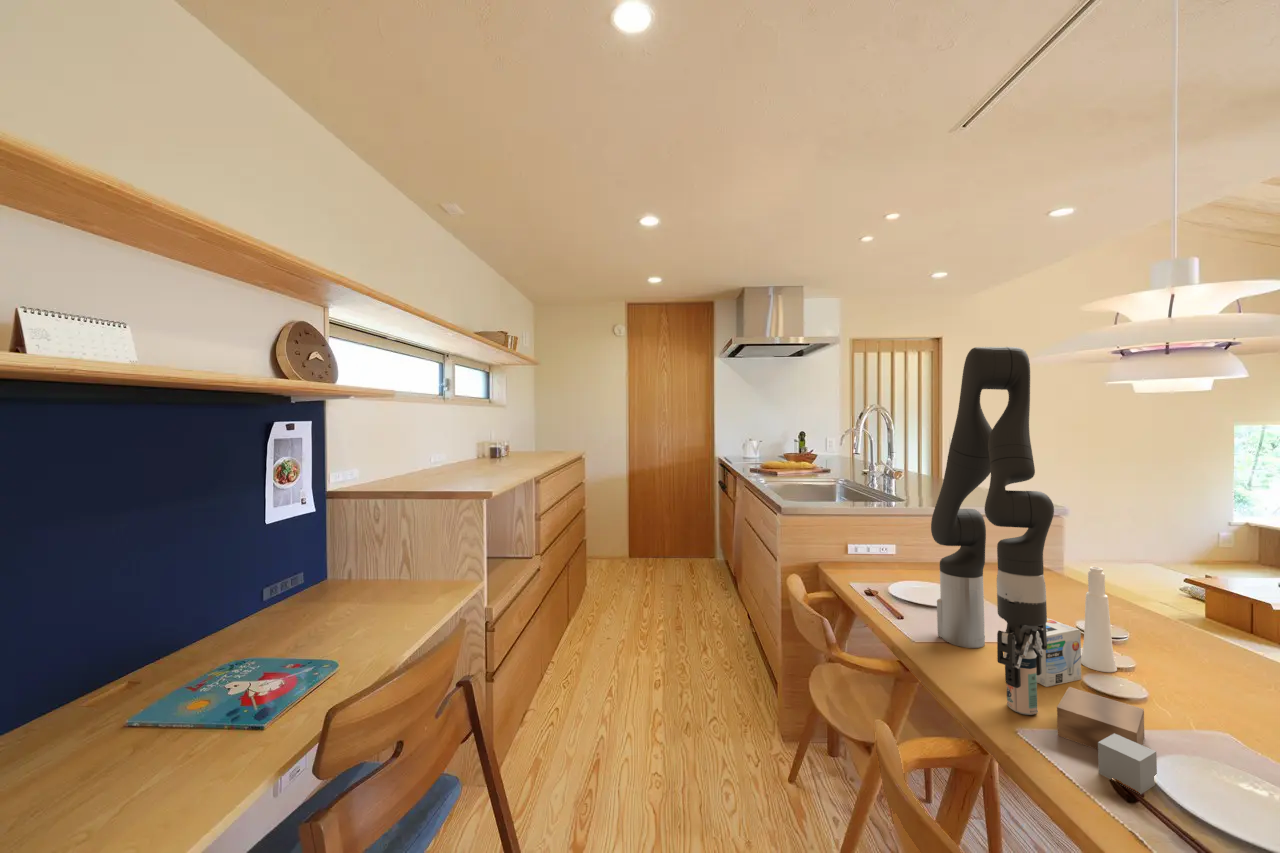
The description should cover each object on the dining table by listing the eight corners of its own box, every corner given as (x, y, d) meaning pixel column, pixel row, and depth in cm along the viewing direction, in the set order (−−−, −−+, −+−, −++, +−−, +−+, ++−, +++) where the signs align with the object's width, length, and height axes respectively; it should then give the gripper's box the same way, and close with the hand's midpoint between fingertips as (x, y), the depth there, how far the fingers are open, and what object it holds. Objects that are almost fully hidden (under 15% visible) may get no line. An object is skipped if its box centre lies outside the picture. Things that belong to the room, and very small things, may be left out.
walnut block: (1057, 735, 88) (1057, 707, 88) (1069, 713, 94) (1068, 686, 94) (1137, 764, 80) (1136, 733, 80) (1144, 737, 87) (1143, 708, 87)
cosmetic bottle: (1073, 659, 115) (1071, 563, 115) (1103, 660, 114) (1101, 564, 114) (1093, 672, 109) (1090, 571, 109) (1124, 673, 108) (1122, 572, 108)
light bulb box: (1046, 688, 103) (1045, 636, 103) (1014, 672, 110) (1013, 624, 110) (1083, 679, 106) (1082, 628, 106) (1049, 665, 113) (1048, 617, 113)
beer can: (1007, 700, 99) (1006, 640, 99) (1038, 708, 96) (1036, 646, 96) (1006, 711, 95) (1004, 648, 95) (1037, 720, 92) (1036, 655, 92)
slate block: (1098, 773, 78) (1097, 742, 78) (1115, 764, 81) (1114, 733, 80) (1140, 794, 74) (1139, 761, 74) (1157, 784, 76) (1156, 751, 76)
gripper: (1016, 583, 102) (1018, 662, 102) (980, 596, 95) (983, 681, 95) (1061, 593, 96) (1064, 677, 96) (1026, 608, 89) (1029, 699, 89)
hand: (1023, 679), depth 95 cm, fingers open, 8 cm apart
